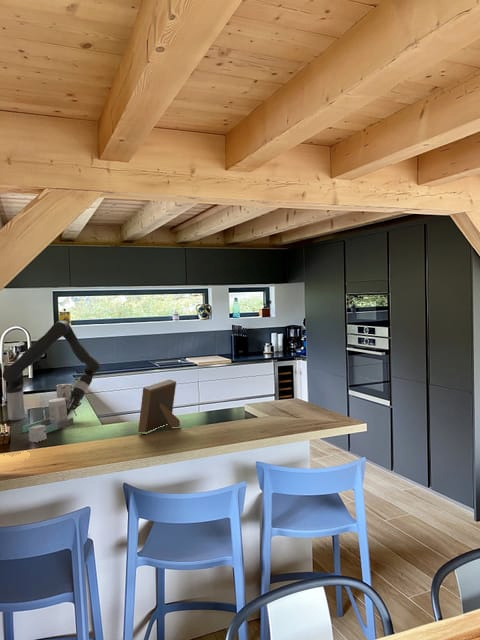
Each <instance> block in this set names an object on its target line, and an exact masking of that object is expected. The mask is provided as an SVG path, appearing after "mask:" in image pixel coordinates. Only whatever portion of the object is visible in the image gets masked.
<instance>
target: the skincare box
mask: <svg viewBox="0 0 480 640" xmlns="http://www.w3.org/2000/svg"><path fill="white" fill-rule="evenodd" d="M46 426H47V425H46ZM46 426H45V425H36V426H33V427H30V428H29V431H28V435H29V442H31V443H39V441H40V442H43V441H46V440H47V438H48V437H47V433H46ZM45 439H46V440H45ZM42 440H43V441H42Z"/></svg>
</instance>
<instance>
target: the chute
mask: <svg viewBox="0 0 480 640" xmlns="http://www.w3.org/2000/svg"><path fill="white" fill-rule="evenodd" d="M74 424H75V422H74V417H70V418H68V419H67V420H63V421H60V422H57V423H54V424H51V422H50V417H48V418H45V419H41V420H38V421H35V422H32V423H29V424H26V425H23V426H22V432H23V433H29V428H30V427H33V426H36V425H45V426H46V434H48V433H51V432H54V431H57V430H59V429H60V430H61V429H64V428H65V427H68V426H69V427H70V426H72V425H74Z"/></svg>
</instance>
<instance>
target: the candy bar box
mask: <svg viewBox="0 0 480 640" xmlns="http://www.w3.org/2000/svg"><path fill="white" fill-rule="evenodd" d="M75 385H76V384H75V383H62V384H61V383H60V384H57V385H55V389H56V399H57V398H65V400H69V398H70V397H71V392H72V391H73V389H74V387H75Z"/></svg>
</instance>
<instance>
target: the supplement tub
mask: <svg viewBox="0 0 480 640" xmlns="http://www.w3.org/2000/svg"><path fill="white" fill-rule="evenodd" d="M48 411H49V418H50V422H51V424H54V423H57V422H60V421H63V420H67V419H69V418H68V416H67V408H66V401H65V398H57V397H56V398H53V399H49V400H48ZM51 424H50V425H51Z"/></svg>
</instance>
